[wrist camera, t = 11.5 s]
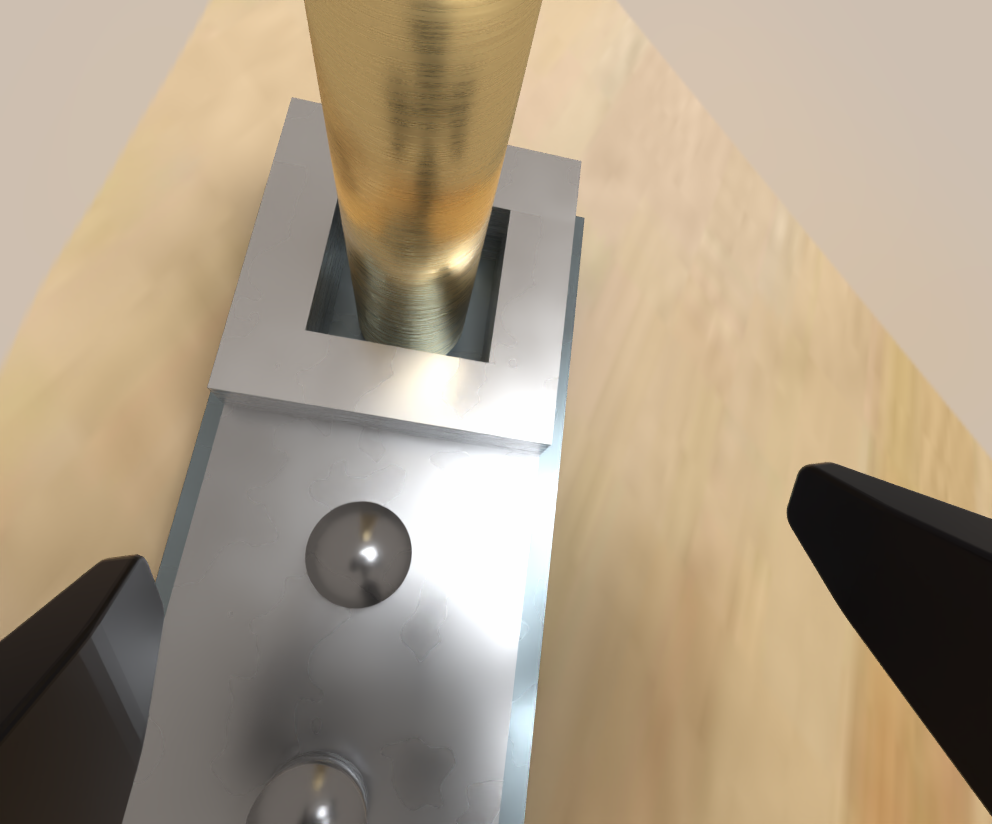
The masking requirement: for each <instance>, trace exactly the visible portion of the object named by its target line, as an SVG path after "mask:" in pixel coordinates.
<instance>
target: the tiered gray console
mask: <svg viewBox="0 0 992 824" xmlns="http://www.w3.org/2000/svg"><path fill="white" fill-rule="evenodd" d="M580 169H581V161H578V160H573V159H569V158H564V157H560V156H555V155H551V154H546V153H542V152H537V151H533V150H528V149H524V148H519V147H514V146H510V145H507V149H506V153H505V157H504V161H503V165H502V169H501V174H500V178H499V182H498V186H497V190H496V194H495V199H494V203H493V207H492V211H491V215H490V219H489V223H488V228H487V232H486V236H485V240H484V244H483V248H482V253H481V257H480V261H479V265H478V269H477V273H476V277H475V282H474V286H473V290H472V294H471V298H470V302H469V307H468V311H467V315H466V319H465V323H464V327H463V331H462V334H461V336H460V338H459V340H458V342H457V343H456V345H455V346H454V347H453V348H452V349H451V350H450V351H449V352H448V353H447V354H445V355H440V354H435V353H429V352H423V351H418V350H412V349H407V348H401V347H395V346H390V345H384V344H379V343H373V342H368V341H366V339H365V338H364V336H363V334H362V332H361V329H360V326H359V320H358V314H357V309H356V303H355V297H354V291H353V285H352V279H351V273H350V267H349V262H348V256H347V250H346V244H345V238H344V232H343V226H342V220H341V214H340V209H339V203H338V197H337V191H336V185H335V179H334V173H333V167H332V162H331V156H330V150H329V144H328V138H327V132H326V126H325V120H324V114H323V109H322V104H320V103H315V102H311V101H306V100H302V99H297V98H293V97H292V99H291V102H290V105H289V109H288V112H287V116H286V119H285V123H284V126H283V129H282V133H281V136H280V140H279V143H278V147H277V150H276V153H275V157H274V160H273V164H272V167H271V171H270V174H269V177H268V181H267V184H266V188H265V191H264V195H263V198H262V201H261V205H260V208H259V212H258V215H257V219H256V222H255V226H254V229H253V232H252V236H251V239H250V243H249V246H248V250H247V253H246V256H245V260H244V263H243V267H242V270H241V274H240V277H239V280H238V284H237V287H236V291H235V294H234V298H233V301H232V304H231V308H230V311H229V315H228V318H227V322H226V325H225V328H224V332H223V335H222V339H221V342H220V346H219V349H218V352H217V356H216V359H215V363H214V366H213V370H212V373H211V376H210V380H209V383H208V387H207V388H208V389H209V390H210V391H211V392H210V395H209V399H208V402H207V406H206V409H205V413H204V416H203V420H202V423H201V427H200V430H199V433H198V437H197V440H196V444H195V447H194V451H193V454H192V458H191V461H190V465H189V468H188V471H187V475H186V478H185V482H184V485H183V489H182V492H181V496H180V499H179V503H178V506H177V510H176V513H175V516H174V520H173V523H172V527H171V530H170V534H169V537H168V541H167V544H166V548H165V551H164V555H163V558H162V561H161V565H160V568H159V572H158V575H157V579H156V582H155V584H156V586H157V589H158V592H159V594H160V597H161V600H162V603H163V608H164V623H163V630H162V636H161V642H160V648H159V654H158V661H157V667H156V673H155V679H154V685H153V692H152V698H151V704H150V710H149V716H148V722H147V728H146V734H145V739H144V744H143V749H142V753H141V757H140V761H139V765H138V769H137V772H136V776H135V779H134V783H133V786H132V790H131V793H130V797H129V801H128V804H127V808H126V811H125V815H124V818H123V822H122V824H524V817H525V807H526V797H527V787H528V777H529V767H530V757H531V747H532V737H533V727H534V717H535V707H536V697H537V687H538V677H539V667H540V657H541V647H542V637H543V627H544V617H545V607H546V597H547V587H548V577H549V567H550V557H551V547H552V537H553V527H554V517H555V507H556V497H557V487H558V477H559V467H560V457H561V447H562V437H563V427H564V417H565V407H566V397H567V387H568V377H569V367H570V357H571V347H572V337H573V327H574V317H575V307H576V297H577V287H578V277H579V267H580V257H581V247H582V237H583V227H584V218H583V217H578V216H576V207H577V198H578V188H579V179H580Z"/></svg>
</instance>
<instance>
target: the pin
mask: <svg viewBox="0 0 992 824" xmlns="http://www.w3.org/2000/svg"><path fill="white" fill-rule="evenodd" d="M304 3H305V9H306V14H307V20H308V26H309V32H310V38H311V44H312V50H313V56H314V62H315V67H316V73H317V79H318V85H319V91H320V97H321V103H322V109H323V114H324V120H325V126H326V132H327V138H328V144H329V150H330V156H331V162H332V167H333V173H334V179H335V185H336V191H337V197H338V203H339V209H340V214H341V220H342V226H343V232H344V238H345V244H346V250H347V256H348V262H349V267H350V273H351V279H352V285H353V291H354V297H355V303H356V309H357V314H358V320H359V326H360V329H361V332H362V334H363V336H364V338H365V339H366V341H368V342H373V343H379V344H384V345H390V346H395V347H401V348H407V349H412V350H418V351H423V352H429V353H435V354H440V355H445V354H447V353H448V352H449V351H450V350H451V349H452V348H453V347H454V346H455V345H456V343H457V342H458V340H459V338H460V336H461V334H462V331H463V327H464V323H465V319H466V315H467V311H468V307H469V302H470V298H471V294H472V290H473V286H474V282H475V277H476V273H477V269H478V265H479V261H480V257H481V253H482V248H483V244H484V240H485V236H486V232H487V228H488V223H489V219H490V215H491V211H492V207H493V203H494V199H495V194H496V190H497V186H498V182H499V178H500V174H501V169H502V165H503V161H504V157H505V153H506V149H507V144H508V140H509V136H510V132H511V128H512V124H513V120H514V115H515V111H516V107H517V103H518V99H519V95H520V90H521V86H522V82H523V78H524V74H525V70H526V66H527V61H528V57H529V53H530V49H531V45H532V41H533V36H534V32H535V28H536V24H537V20H538V16H539V11H540V7H541V3H542V0H304Z"/></svg>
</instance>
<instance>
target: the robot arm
mask: <svg viewBox="0 0 992 824" xmlns="http://www.w3.org/2000/svg"><path fill="white" fill-rule="evenodd" d="M787 519H788V522H789V524H790V526H791V528H792V530H793V531H794V533H795V535H796V536H797V538H798V540H799V541H800V543H801V545H802V546H803V548H804V550H805V551H806V553H807V555H808V556H809V558H810V560H811V561H812V563H813V565H814V566H815V568H816V570H817V571H818V573H819V575H820V576H821V578H822V580H823V581H824V583H825V585H826V586H827V588H828V590H829V591H830V593H831V595H832V596H833V598H834V600H835V601H836V603H837V604H838V606H839V607H840V609H841V611H842V612H843V614H844V615H845V616H846V618H847V619H848V621H849V622H850V624H851V625H852V626H853V628H854V629H855V631H856V632H857V633H858V635H859V636H860V637H861V639H862V640H863V642H864V643H865V644H866V646H867V647H868V648H869V650H870V651H871V652H872V654H873V655H874V657H875V658H876V659H877V661H878V662H879V663H880V665H881V666H882V667H883V669H884V670H885V672H886V673H887V674H888V676H889V677H890V678H891V680H892V681H893V682H894V684H895V685H896V687H897V688H898V689H899V691H900V692H901V693H902V695H903V696H904V698H905V699H906V700H907V702H908V703H909V704H910V706H911V707H912V708H913V710H914V711H915V713H916V714H917V715H918V717H919V718H920V719H921V721H922V722H923V723H924V725H925V726H926V728H927V729H928V730H929V732H930V733H931V734H932V736H933V737H934V738H935V740H936V741H937V743H938V744H939V745H940V747H941V748H942V749H943V751H944V752H945V753H946V755H947V756H948V758H949V759H950V760H951V762H952V763H953V764H954V766H955V767H956V768H957V770H958V771H959V773H960V774H961V775H962V777H963V778H964V779H965V781H966V782H967V784H968V785H969V786H970V788H971V789H972V790H973V792H974V793H975V794H976V796H977V797H978V799H979V800H980V801H981V803H982V804H983V805H984V807H985V808H986V809H987V811H988V812H989V814H990V815H991V816H992V519H991V518H988V517H985V516H982V515H979V514H976V513H974V512H971V511H968V510H965V509H962V508H959V507H957V506H954V505H951V504H948V503H945V502H942V501H940V500H937V499H934V498H931V497H928V496H926V495H923V494H920V493H917V492H914V491H911V490H909V489H906V488H903V487H900V486H897V485H894V484H892V483H889V482H886V481H883V480H880V479H877V478H875V477H872V476H869V475H866V474H863V473H861V472H858V471H855V470H852V469H849V468H846V467H844V466H841V465H838V464H835V463H831V462H824V463H816V464H809V465H806V466H804V467H802V468H801V469H800V471H799V472H798V474H797V478H796V481H795V484H794V487H793V490H792V493H791V497H790V500H789V503H788V506H787ZM163 623H164V608H163V603H162V600H161V597H160V594H159V592H158V589H157V586H156V584H155V581H154V578H153V576H152V573H151V570H150V568H149V565H148V563H147V561H146V560H145V558H144V557H142V556H140V555H128V556H121V557H113V558H107V559H104V560H102V561H100V562H99V563H97V564H96V565H95V566H93V567H92V568H91V569H90V570H88V571H87V572H86V573H85V574H83V575H82V576H81V577H80V578H78V579H77V580H76V581H75V582H73V583H72V584H71V585H70V586H68V587H67V588H66V589H65V590H63V591H62V592H61V593H60V594H59V595H57V596H56V597H55V598H54V599H52V600H51V601H50V602H49V603H47V604H46V605H45V606H44V607H42V608H41V609H40V610H39V611H37V612H36V613H35V614H34V615H32V616H31V617H30V618H29V619H27V620H26V621H25V622H24V623H22V624H21V625H20V626H19V627H17V628H16V629H15V630H14V631H12V632H11V633H10V634H9V635H7V636H6V637H5V638H4V639H3V640H1V641H0V824H122V822H123V818H124V815H125V811H126V808H127V804H128V801H129V797H130V793H131V790H132V786H133V783H134V779H135V776H136V772H137V769H138V765H139V761H140V757H141V753H142V749H143V744H144V739H145V734H146V728H147V722H148V716H149V710H150V704H151V698H152V692H153V685H154V679H155V673H156V667H157V661H158V654H159V648H160V642H161V636H162V630H163Z"/></svg>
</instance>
